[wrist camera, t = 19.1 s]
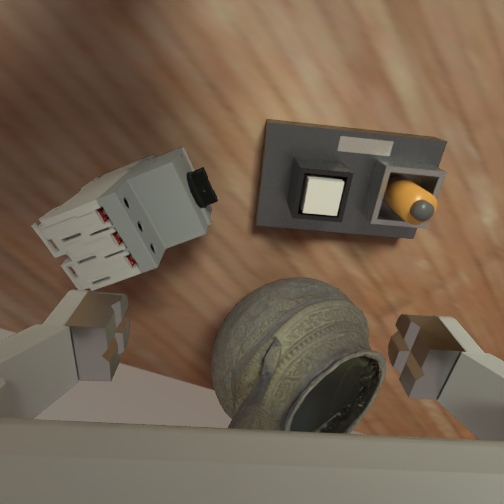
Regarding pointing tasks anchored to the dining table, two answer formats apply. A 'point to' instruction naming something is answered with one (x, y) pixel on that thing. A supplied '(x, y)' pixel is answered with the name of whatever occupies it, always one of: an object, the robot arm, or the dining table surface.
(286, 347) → the pot
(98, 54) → the dining table surface
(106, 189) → the circuit breaker
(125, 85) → the dining table surface
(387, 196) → the orange rounded cylinder
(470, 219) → the dining table surface
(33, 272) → the dining table surface
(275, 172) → the grey socket board
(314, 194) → the button
